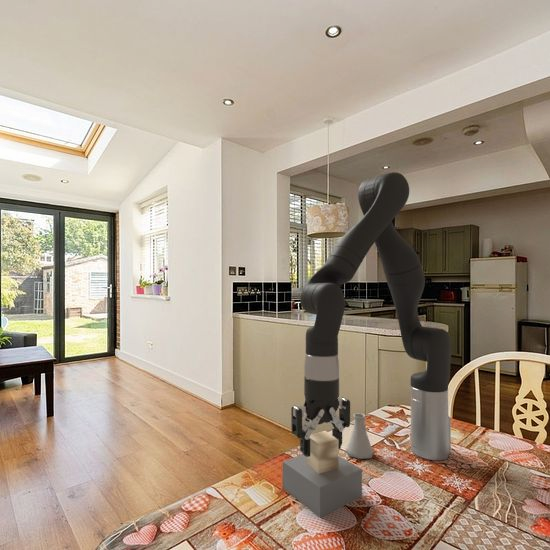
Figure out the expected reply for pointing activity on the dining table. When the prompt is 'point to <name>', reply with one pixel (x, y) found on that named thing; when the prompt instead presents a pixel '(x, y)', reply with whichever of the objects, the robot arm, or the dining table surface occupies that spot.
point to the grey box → (322, 484)
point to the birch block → (323, 452)
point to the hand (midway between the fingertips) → (321, 451)
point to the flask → (359, 439)
